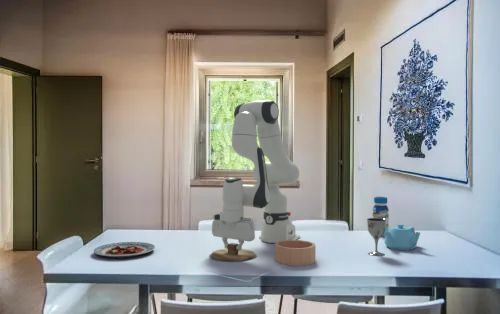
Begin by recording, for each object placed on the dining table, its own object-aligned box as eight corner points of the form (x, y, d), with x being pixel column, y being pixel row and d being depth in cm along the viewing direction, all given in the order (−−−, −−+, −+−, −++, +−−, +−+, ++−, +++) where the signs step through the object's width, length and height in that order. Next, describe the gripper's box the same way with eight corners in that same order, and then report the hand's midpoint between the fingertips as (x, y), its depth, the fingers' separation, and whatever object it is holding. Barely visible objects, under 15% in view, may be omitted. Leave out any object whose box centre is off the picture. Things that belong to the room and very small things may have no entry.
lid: (228, 248, 187) (228, 237, 187) (262, 254, 177) (262, 242, 177) (202, 257, 172) (202, 245, 172) (237, 263, 162) (237, 251, 162)
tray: (228, 249, 188) (228, 248, 188) (265, 255, 177) (265, 254, 177) (199, 258, 172) (199, 257, 172) (238, 265, 160) (238, 264, 160)
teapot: (421, 252, 183) (421, 228, 183) (385, 250, 186) (385, 226, 186) (415, 244, 198) (415, 222, 198) (382, 243, 201) (382, 221, 201)
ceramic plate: (149, 260, 169) (149, 253, 169) (85, 261, 167) (85, 254, 167) (159, 246, 195) (159, 239, 195) (103, 246, 193) (103, 240, 193)
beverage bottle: (388, 233, 225) (388, 196, 225) (389, 236, 217) (389, 198, 216) (371, 232, 227) (371, 196, 227) (372, 235, 219) (372, 197, 218)
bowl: (287, 253, 180) (287, 238, 180) (321, 258, 171) (321, 243, 171) (268, 261, 167) (268, 245, 167) (303, 267, 158) (303, 250, 158)
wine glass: (386, 252, 182) (386, 218, 182) (385, 257, 174) (386, 221, 174) (367, 251, 184) (367, 217, 184) (366, 255, 177) (366, 220, 177)
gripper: (257, 217, 171) (257, 251, 171) (218, 213, 182) (218, 244, 183) (249, 219, 166) (249, 254, 166) (209, 215, 177) (209, 247, 177)
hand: (233, 249), depth 174 cm, fingers open, 5 cm apart
